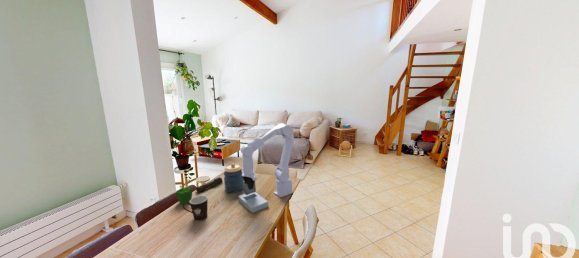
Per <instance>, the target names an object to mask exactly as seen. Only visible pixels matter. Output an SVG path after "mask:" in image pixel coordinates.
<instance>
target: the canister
mask: <svg viewBox="0 0 579 258" xmlns="http://www.w3.org/2000/svg"><path fill="white" fill-rule="evenodd" d="M223 170H224V171H223V173H222V175H224V177H223V182H224V190H225V192H227V193H239V192H241V191H244V185H243V182H244V179H243V178H242V174H243V173H242V170H243V166H241V165H239V164H235V163H234V162H232V163H231V164H230V165H228V166H225V168H224V169H223Z"/></svg>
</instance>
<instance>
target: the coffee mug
mask: <svg viewBox="0 0 579 258" xmlns="http://www.w3.org/2000/svg"><path fill="white" fill-rule="evenodd" d="M208 199H209V198H208V196H207V195H203V194H202V195H197V196H194V197H192V199H191V200H190V201H189V202H188V203H185V204H182V208H183V209H184V210H185V211H186V212H189V213H191V214H192V216H193V219H194V221H195V222H196V221H197V222H201V221H204V220H206V218H207V217H208V203H209V201H208ZM185 205H189V206H190V208H191V210H189V209H187V208H186V207H185Z"/></svg>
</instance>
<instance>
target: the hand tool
mask: <svg viewBox="0 0 579 258" xmlns="http://www.w3.org/2000/svg"><path fill="white" fill-rule="evenodd" d="M223 182H224V180H223V179H222V177H216V178H213V180H212V181H209V182H207V183H204V184H201V185H200V186H196V187H195V191H196V192H197V193H198V194H199V193H201V192H202V191H205V190H207V189H210V188H212V187H214V186H218V185H220V184H222V183H223Z"/></svg>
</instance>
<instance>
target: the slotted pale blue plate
mask: <svg viewBox="0 0 579 258" xmlns="http://www.w3.org/2000/svg"><path fill="white" fill-rule="evenodd" d="M238 202H239V203H241V204H242V205H243V206H244V208H246V209H247V210H248V211H249V212H251V214H254V213H255V212H258V211H261V210H264V209H266V208H268V207H269V201H268V200H267V199H266V198H264V197H262V195H260V194H258V193H257V191H256V192H254V193H251V194H249V195H246V194H244V193H243V194H241V195H238Z"/></svg>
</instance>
